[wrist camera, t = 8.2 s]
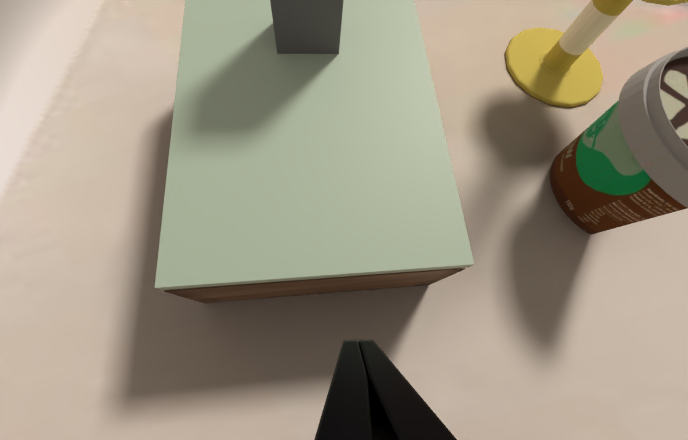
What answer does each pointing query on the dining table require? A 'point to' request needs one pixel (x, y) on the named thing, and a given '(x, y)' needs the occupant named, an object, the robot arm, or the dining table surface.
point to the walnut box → (313, 286)
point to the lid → (306, 147)
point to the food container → (630, 153)
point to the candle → (565, 55)
